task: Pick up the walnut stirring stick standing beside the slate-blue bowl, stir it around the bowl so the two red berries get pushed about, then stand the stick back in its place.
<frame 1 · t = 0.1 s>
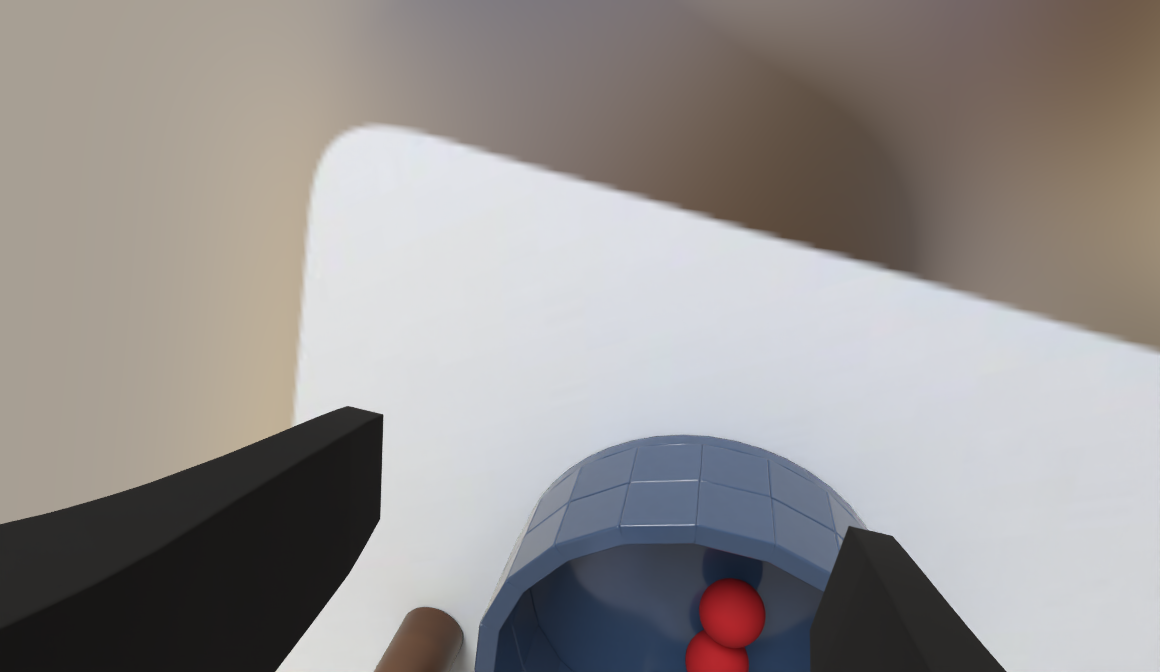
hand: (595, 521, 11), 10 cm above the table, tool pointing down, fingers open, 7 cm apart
berry b: (716, 661, 22), point 2 cm above the table, touching bowl
berry a: (732, 612, 21), point 2 cm above the table, touching bowl
bowl: (693, 592, 23), on the table
stirring stick: (433, 631, 26), on the table
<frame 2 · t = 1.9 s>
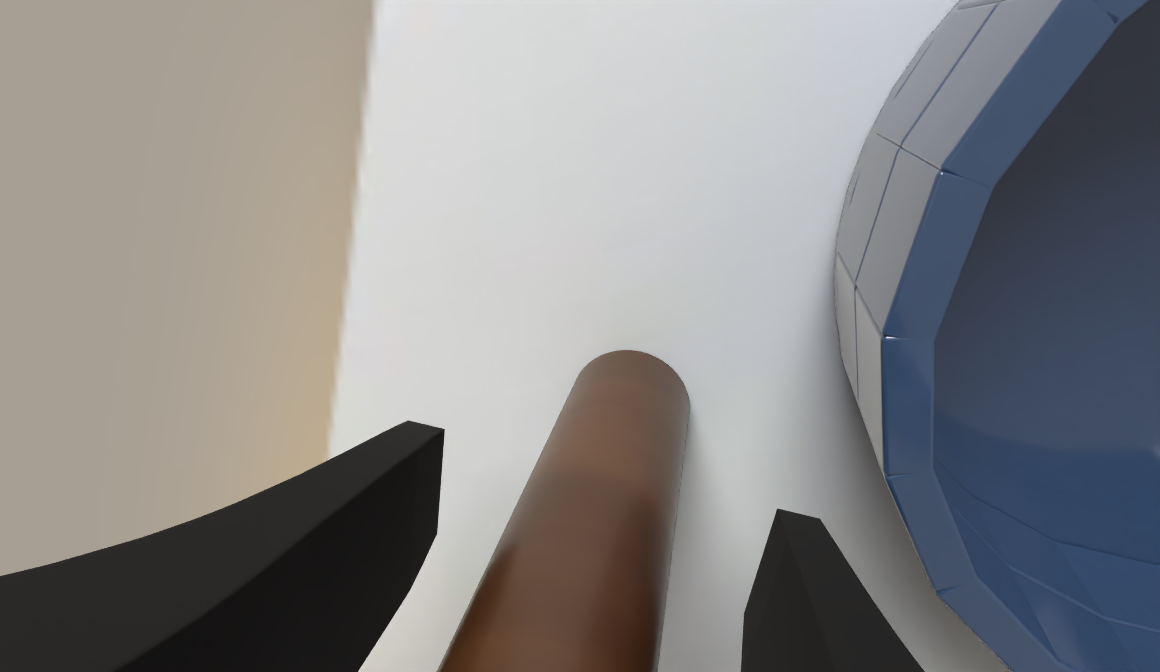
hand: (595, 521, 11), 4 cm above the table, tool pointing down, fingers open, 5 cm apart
stirring stick: (630, 403, 14), on the table
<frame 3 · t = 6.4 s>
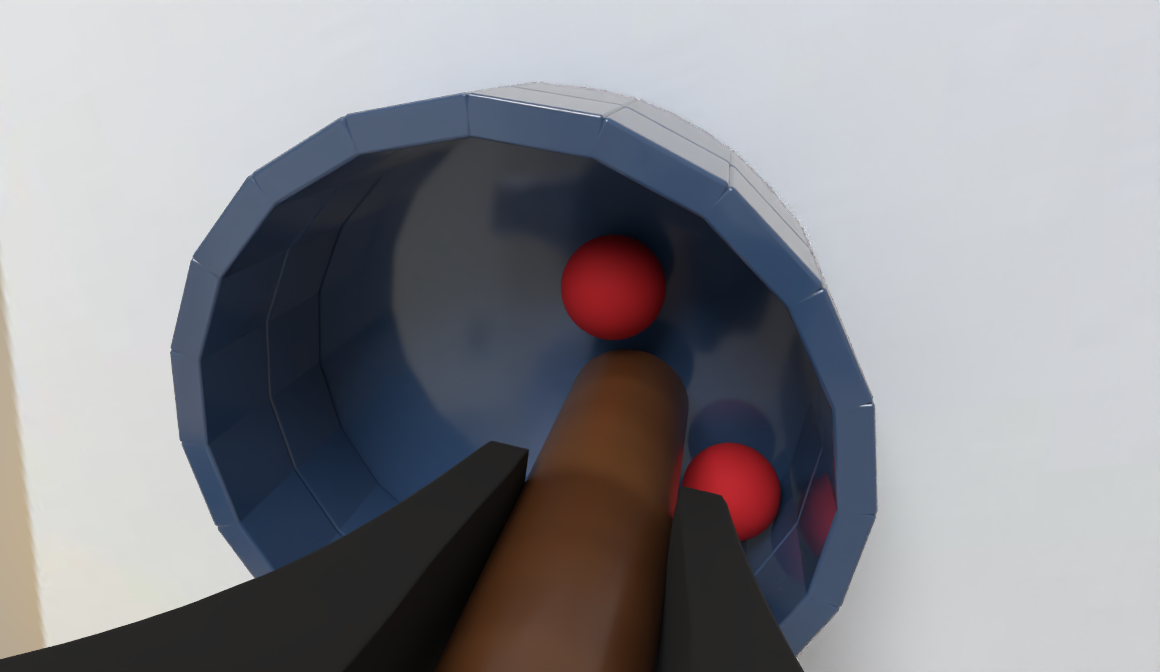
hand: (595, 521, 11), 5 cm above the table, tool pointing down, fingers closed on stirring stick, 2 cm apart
berry b: (730, 491, 14), point 2 cm above the table, tilted 176°, touching bowl
berry a: (613, 287, 13), point 2 cm above the table, tilted 93°, touching bowl
bowl: (555, 367, 16), on the table
stirring stick: (629, 402, 14), point 2 cm above the table, touching gripper
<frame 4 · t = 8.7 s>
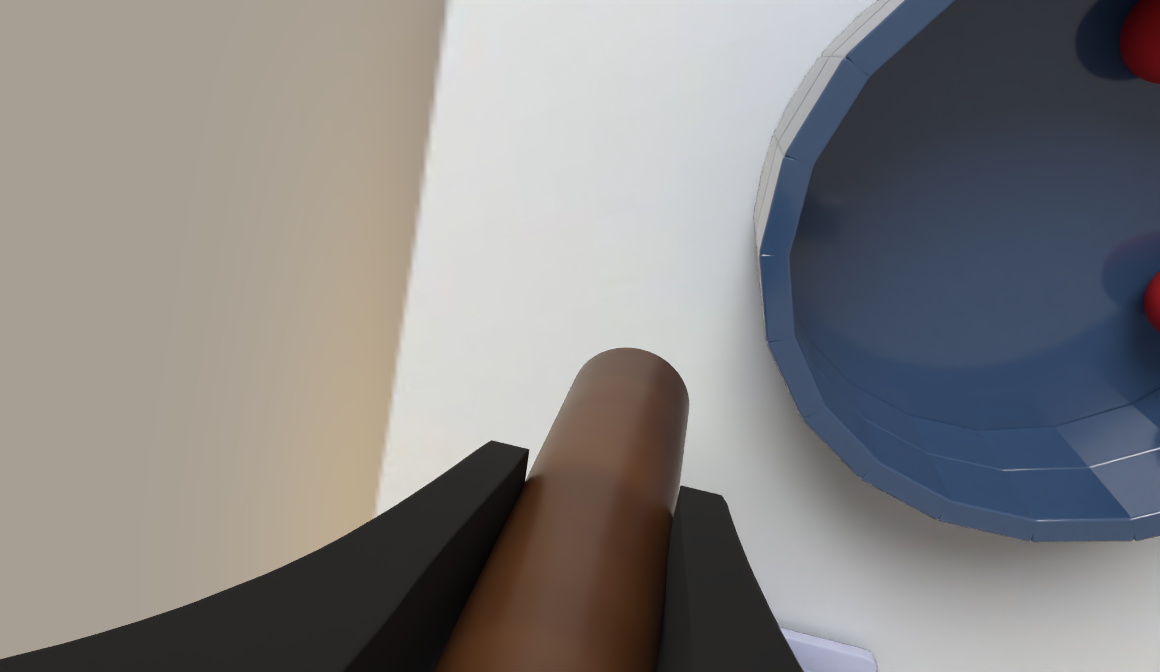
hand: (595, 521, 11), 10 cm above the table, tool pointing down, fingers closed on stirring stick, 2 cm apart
bowl: (1016, 214, 17), on the table
stirring stick: (629, 400, 14), point 6 cm above the table, touching gripper
when the fingers open (4 cm above the table, at t = 10.4 s): stirring stick stays where it is, on the table.
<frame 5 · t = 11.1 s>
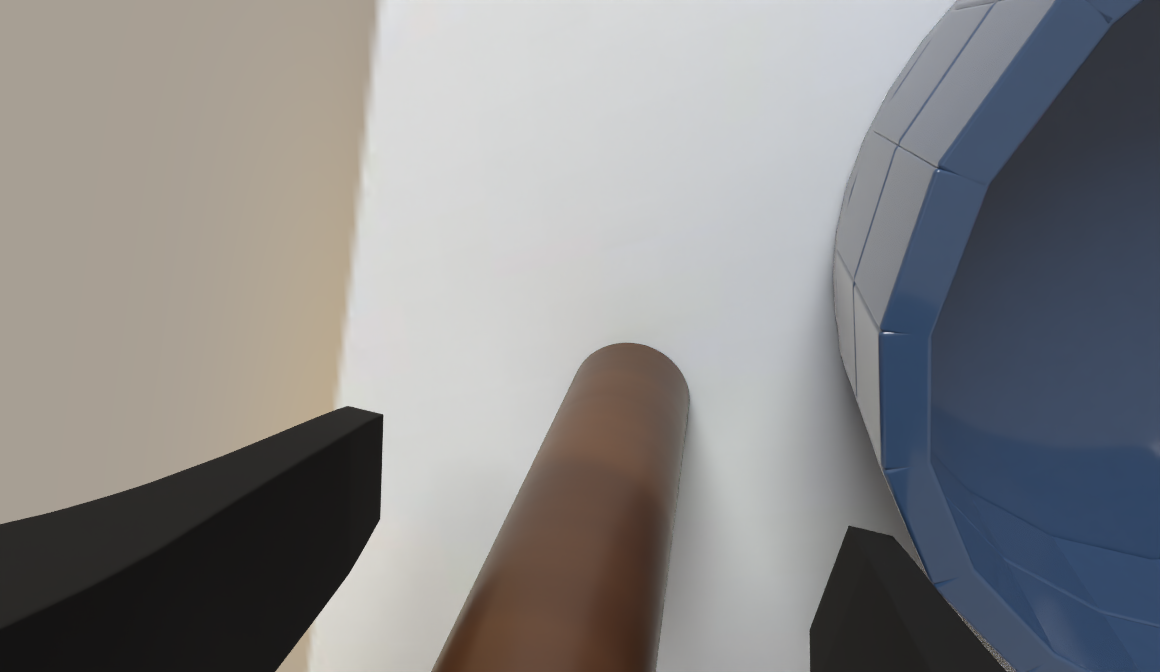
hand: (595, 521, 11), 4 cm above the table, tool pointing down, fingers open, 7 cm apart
stirring stick: (630, 395, 14), on the table
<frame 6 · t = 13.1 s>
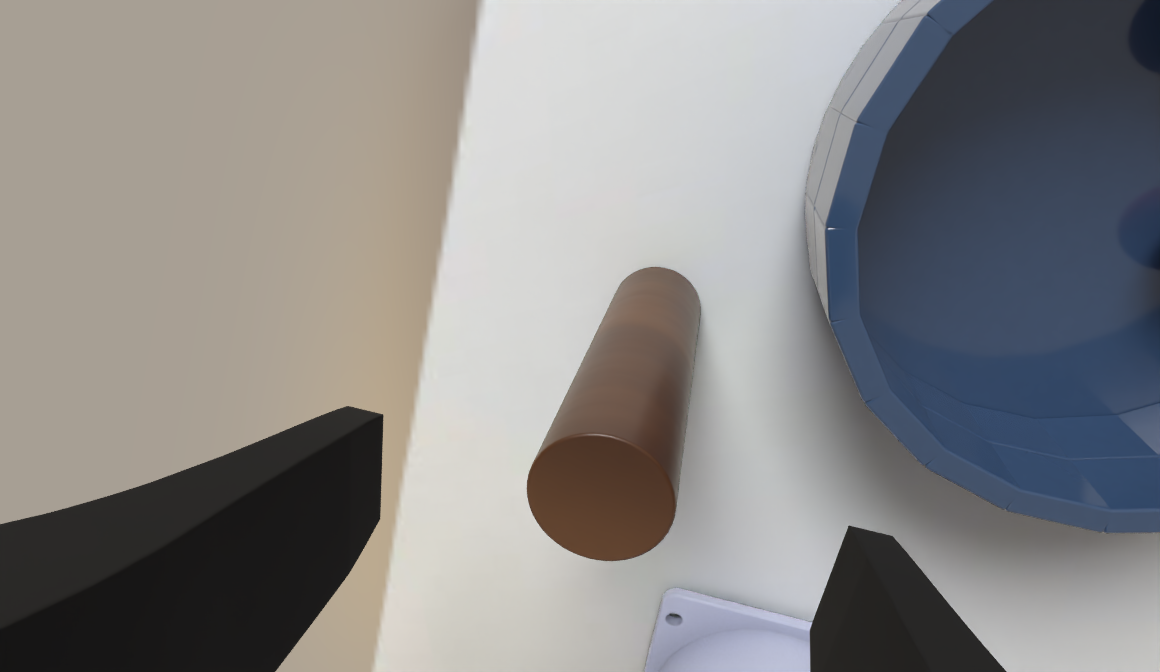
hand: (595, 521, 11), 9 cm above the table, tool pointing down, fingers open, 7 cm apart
bowl: (1082, 191, 16), on the table
stirring stick: (656, 308, 19), on the table
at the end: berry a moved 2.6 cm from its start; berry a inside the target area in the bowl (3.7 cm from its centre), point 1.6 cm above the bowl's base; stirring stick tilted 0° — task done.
